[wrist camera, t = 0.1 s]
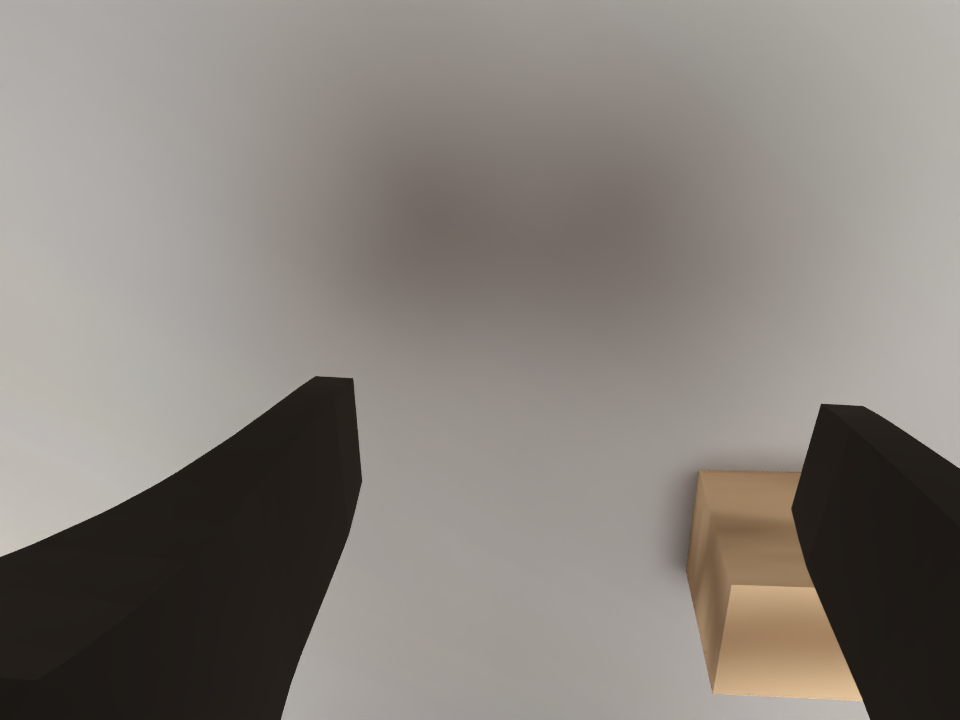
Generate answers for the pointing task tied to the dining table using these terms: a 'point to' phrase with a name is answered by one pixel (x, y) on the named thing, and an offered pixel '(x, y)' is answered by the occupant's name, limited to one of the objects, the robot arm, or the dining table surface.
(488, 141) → the dining table surface
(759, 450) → the dining table surface
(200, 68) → the dining table surface
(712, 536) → the oak block
